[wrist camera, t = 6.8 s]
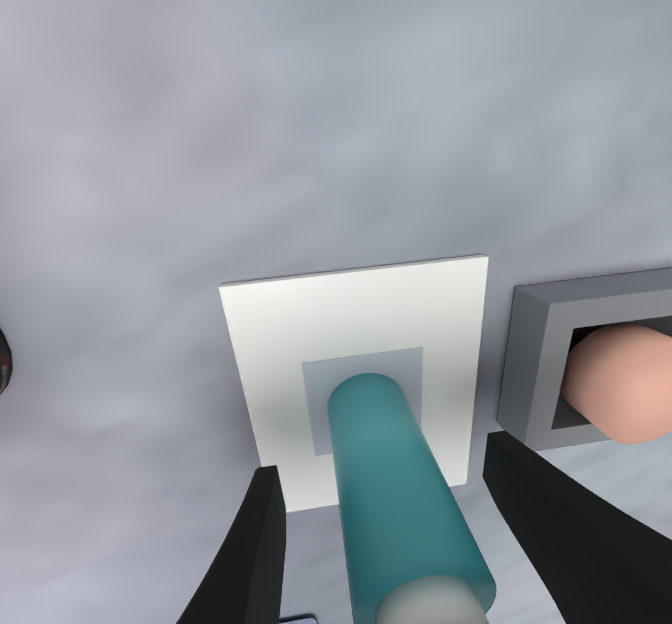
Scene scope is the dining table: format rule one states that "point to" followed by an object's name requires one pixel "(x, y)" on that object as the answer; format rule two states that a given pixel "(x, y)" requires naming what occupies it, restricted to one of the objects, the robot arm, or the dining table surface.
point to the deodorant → (4, 364)
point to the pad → (357, 359)
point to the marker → (400, 515)
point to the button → (622, 381)
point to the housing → (553, 345)
